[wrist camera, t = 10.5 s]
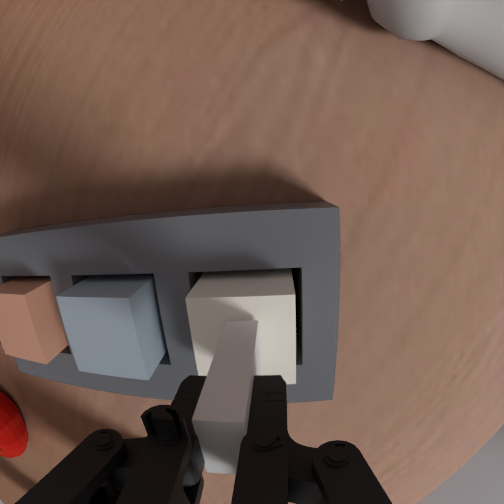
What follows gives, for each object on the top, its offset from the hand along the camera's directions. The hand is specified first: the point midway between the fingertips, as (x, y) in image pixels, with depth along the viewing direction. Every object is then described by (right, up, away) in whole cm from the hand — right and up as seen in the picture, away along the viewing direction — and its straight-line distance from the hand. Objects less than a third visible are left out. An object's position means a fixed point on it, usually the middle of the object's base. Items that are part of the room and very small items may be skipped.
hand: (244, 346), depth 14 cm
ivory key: (0, +1, +5) cm, 5 cm away
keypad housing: (-8, +1, +7) cm, 11 cm away
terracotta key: (-16, 0, +6) cm, 17 cm away
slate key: (-8, +1, +6) cm, 10 cm away
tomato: (-33, -18, +14) cm, 40 cm away
